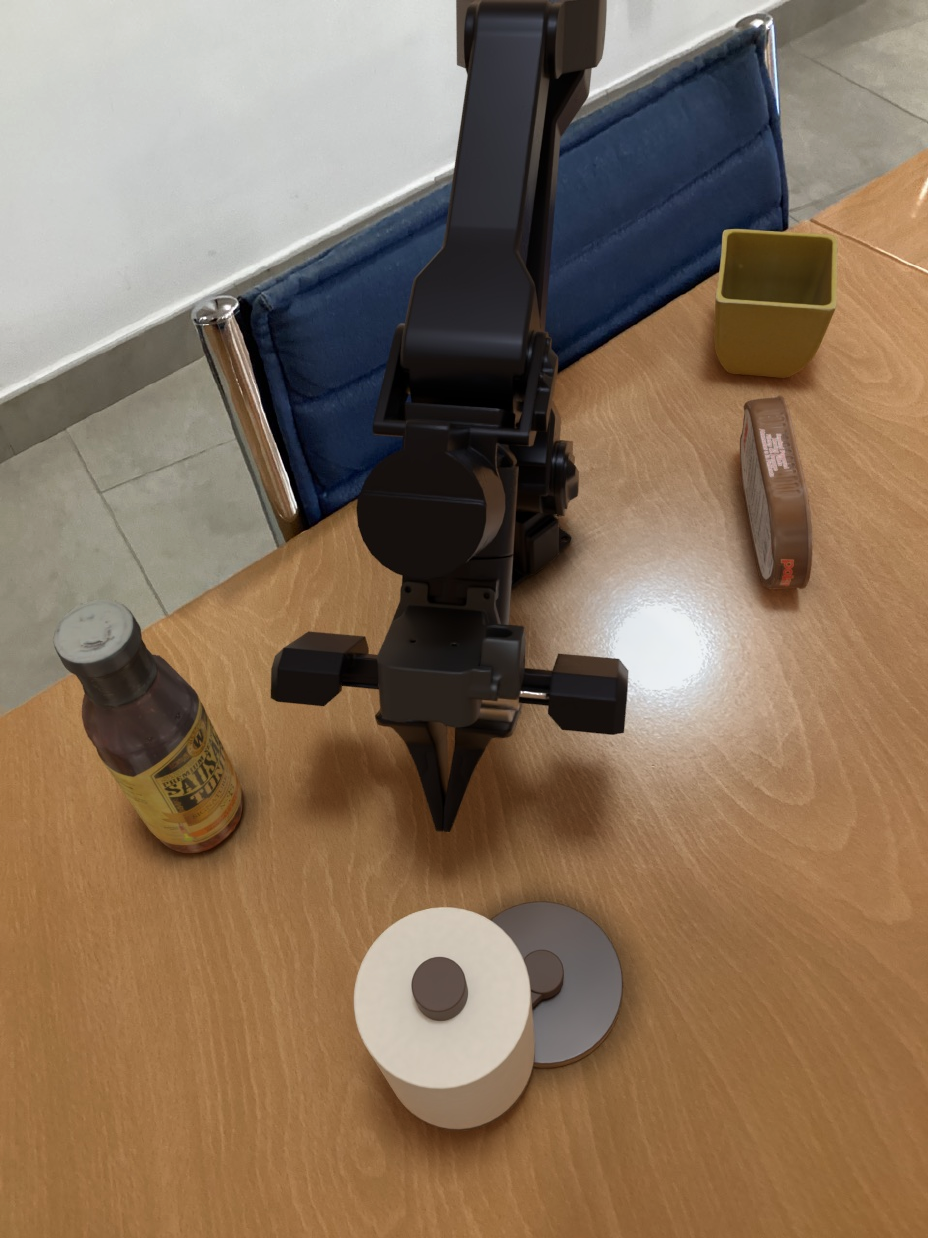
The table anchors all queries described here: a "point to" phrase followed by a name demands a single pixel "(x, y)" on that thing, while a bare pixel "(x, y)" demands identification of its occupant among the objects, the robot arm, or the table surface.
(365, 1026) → the paper towel roll
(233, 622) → the table surface
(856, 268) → the table surface
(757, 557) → the tin
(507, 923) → the swivel base
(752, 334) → the flower pot
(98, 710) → the sauce bottle
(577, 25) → the robot arm
